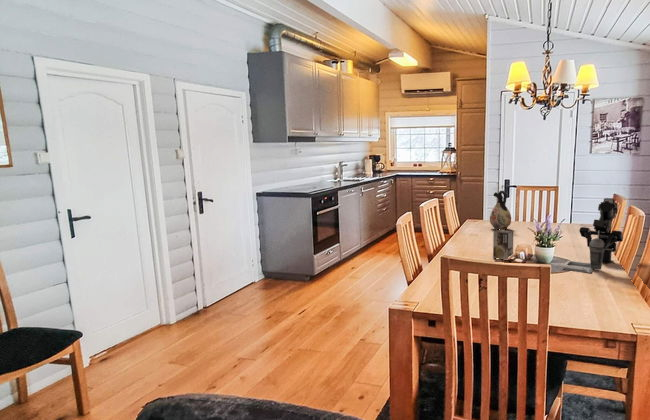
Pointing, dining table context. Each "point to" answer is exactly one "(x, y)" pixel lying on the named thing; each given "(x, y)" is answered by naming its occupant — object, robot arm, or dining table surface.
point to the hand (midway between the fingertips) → (596, 247)
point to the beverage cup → (596, 253)
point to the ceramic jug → (500, 212)
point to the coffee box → (502, 244)
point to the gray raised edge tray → (580, 270)
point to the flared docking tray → (576, 266)
